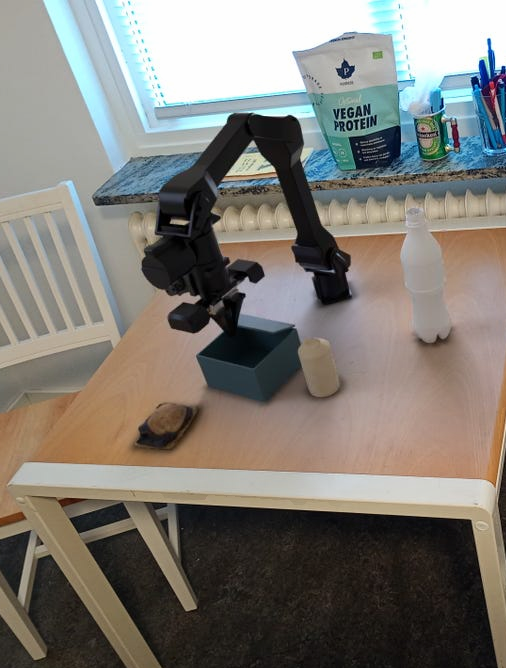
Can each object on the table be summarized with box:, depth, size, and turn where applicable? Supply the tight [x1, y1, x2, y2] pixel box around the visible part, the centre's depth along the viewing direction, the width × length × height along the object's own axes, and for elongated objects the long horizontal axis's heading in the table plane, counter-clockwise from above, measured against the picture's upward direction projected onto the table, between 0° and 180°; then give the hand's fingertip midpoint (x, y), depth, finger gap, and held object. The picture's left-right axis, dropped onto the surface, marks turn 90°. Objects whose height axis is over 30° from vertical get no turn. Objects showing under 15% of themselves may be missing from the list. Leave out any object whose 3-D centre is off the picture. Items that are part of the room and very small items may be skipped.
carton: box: [195, 327, 302, 404], centre depth 132 cm, size 13×14×7 cm
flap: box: [237, 313, 296, 334], centre depth 131 cm, size 6×14×1 cm, turn 59°
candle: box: [298, 337, 341, 398], centre depth 124 cm, size 6×6×10 cm
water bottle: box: [400, 206, 452, 344], centre depth 126 cm, size 7×7×25 cm
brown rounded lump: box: [134, 402, 199, 451], centre depth 125 cm, size 11×8×4 cm
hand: (232, 335), depth 126 cm, fingers closed
